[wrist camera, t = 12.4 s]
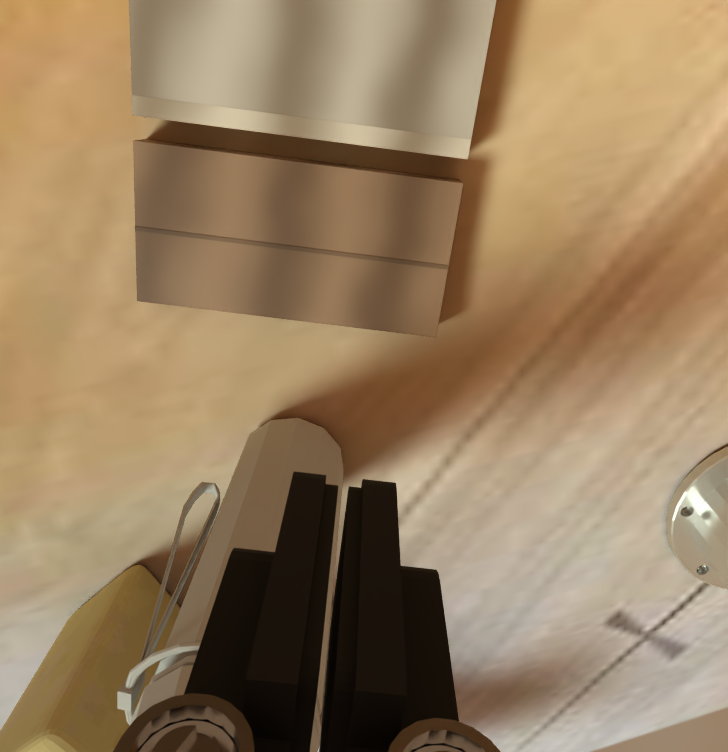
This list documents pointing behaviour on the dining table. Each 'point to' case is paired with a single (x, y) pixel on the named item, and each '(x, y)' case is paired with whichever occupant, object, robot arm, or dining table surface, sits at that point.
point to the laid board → (292, 237)
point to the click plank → (316, 68)
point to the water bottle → (232, 530)
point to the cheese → (90, 671)
